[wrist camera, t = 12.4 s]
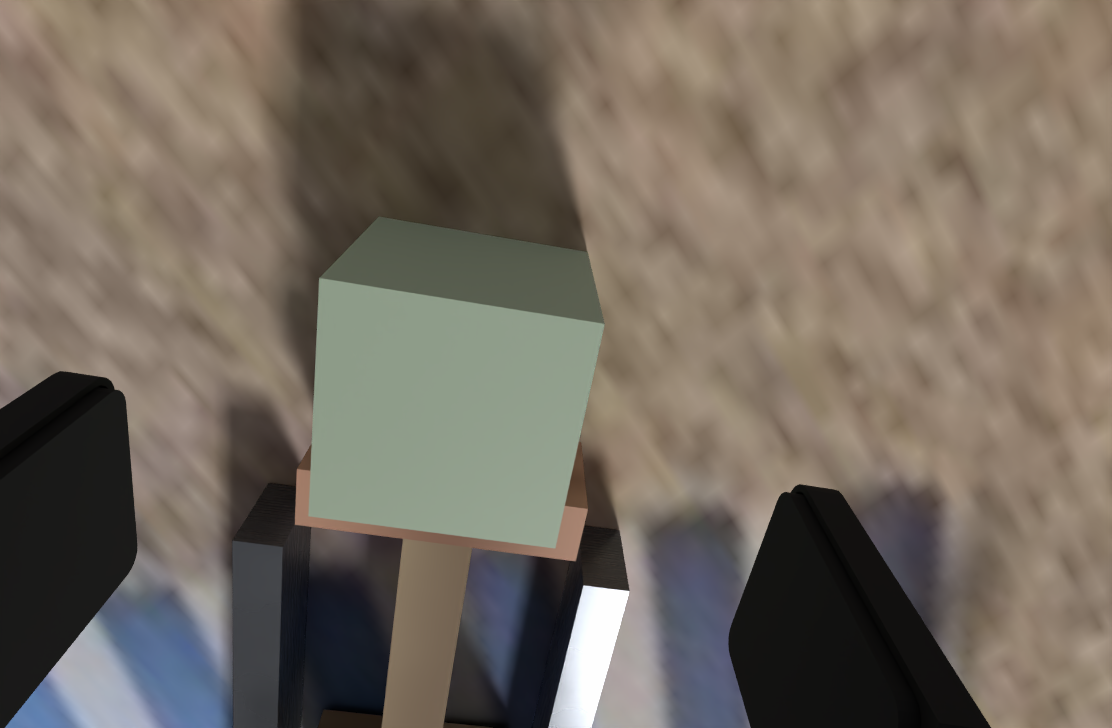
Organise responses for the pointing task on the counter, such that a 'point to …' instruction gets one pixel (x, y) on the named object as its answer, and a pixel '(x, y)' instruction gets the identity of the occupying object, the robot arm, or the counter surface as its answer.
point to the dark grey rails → (281, 610)
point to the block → (451, 382)
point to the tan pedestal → (432, 605)
